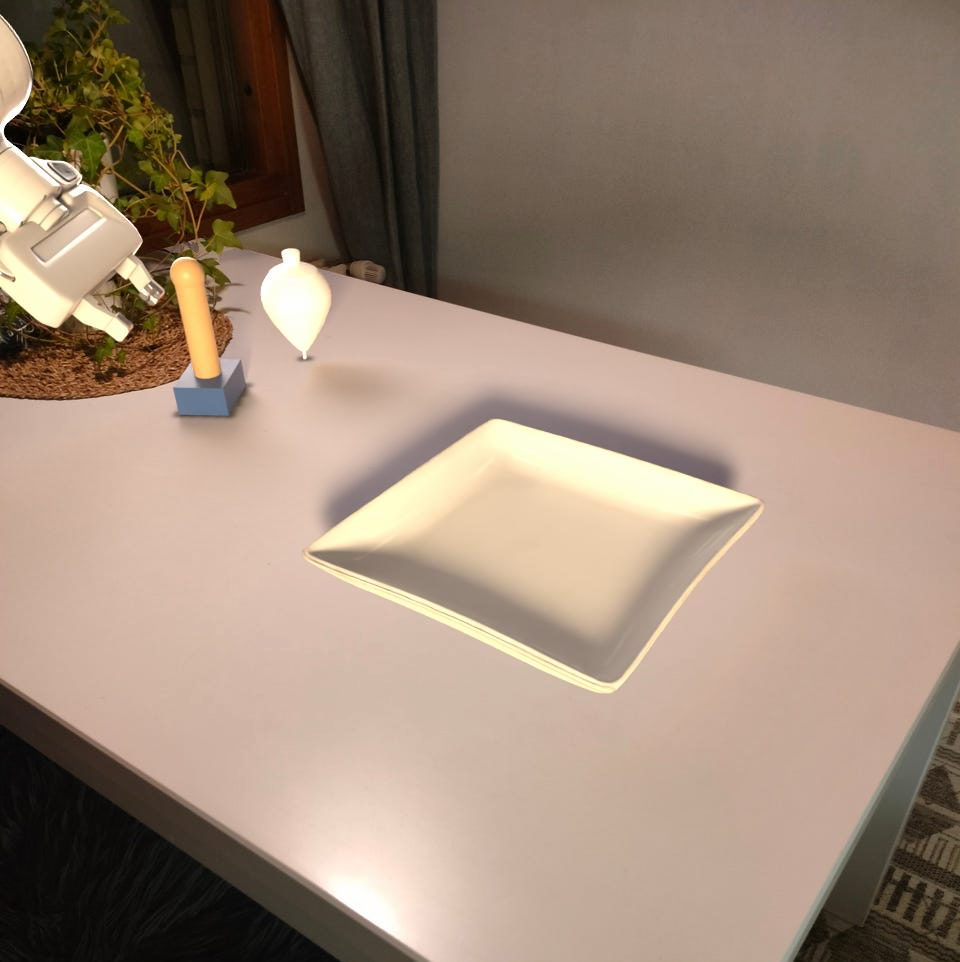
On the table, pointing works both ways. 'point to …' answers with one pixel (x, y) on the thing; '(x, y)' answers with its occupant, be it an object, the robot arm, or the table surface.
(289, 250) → the spinning top
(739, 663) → the table surface
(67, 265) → the robot arm
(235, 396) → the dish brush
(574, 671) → the square plate
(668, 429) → the table surface
